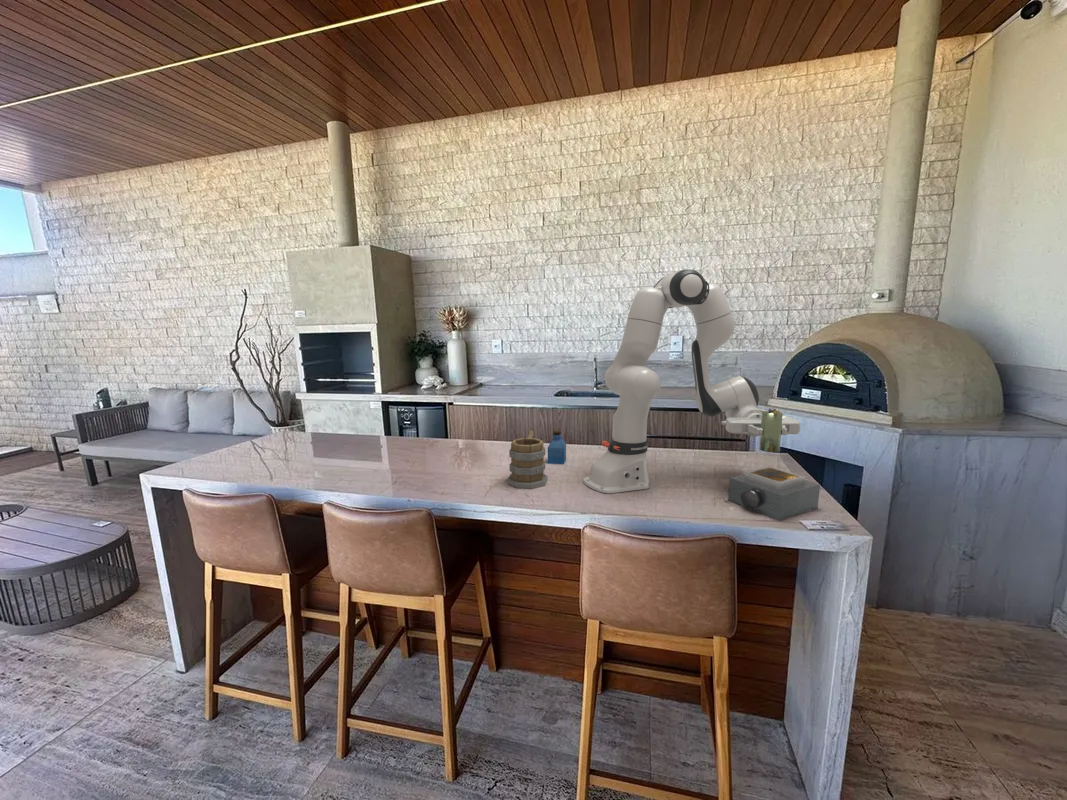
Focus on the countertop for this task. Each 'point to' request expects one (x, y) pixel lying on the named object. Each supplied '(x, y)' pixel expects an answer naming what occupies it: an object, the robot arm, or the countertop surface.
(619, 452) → the robot arm
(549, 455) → the perfume bottle
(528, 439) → the tankard
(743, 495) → the gearbox housing
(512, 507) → the countertop surface
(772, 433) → the spout can
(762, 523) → the countertop surface
